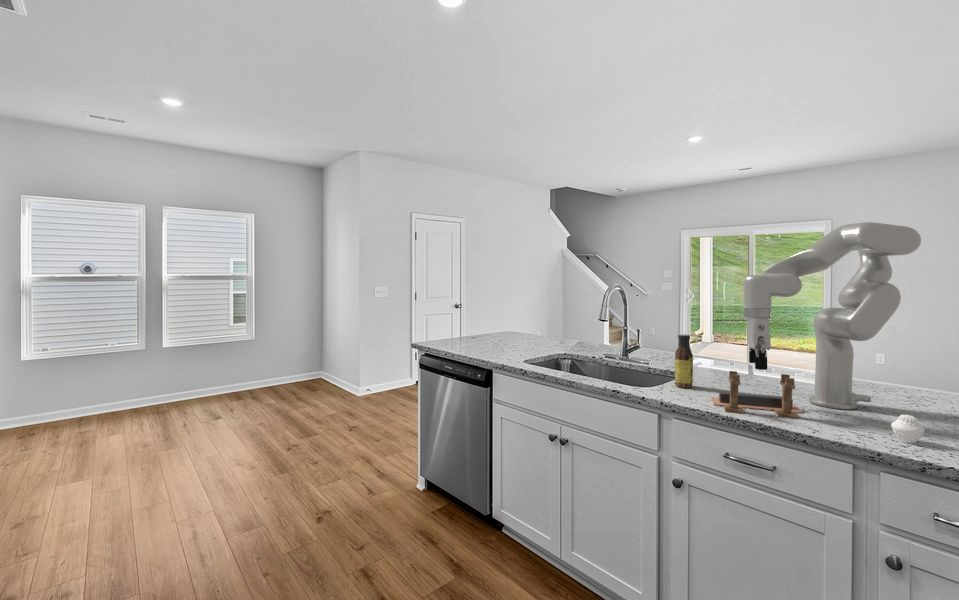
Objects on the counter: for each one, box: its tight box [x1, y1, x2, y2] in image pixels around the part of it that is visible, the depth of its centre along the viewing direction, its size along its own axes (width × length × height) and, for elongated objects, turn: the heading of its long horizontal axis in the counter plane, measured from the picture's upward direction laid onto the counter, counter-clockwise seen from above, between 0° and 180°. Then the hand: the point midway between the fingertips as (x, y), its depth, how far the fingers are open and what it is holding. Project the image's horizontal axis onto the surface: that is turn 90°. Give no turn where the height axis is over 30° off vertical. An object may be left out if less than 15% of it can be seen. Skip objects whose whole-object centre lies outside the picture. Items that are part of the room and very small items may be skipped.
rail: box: [718, 391, 794, 408], centre depth 143 cm, size 20×3×3 cm, turn 68°
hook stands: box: [723, 370, 799, 419], centre depth 136 cm, size 19×6×12 cm, turn 68°
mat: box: [711, 397, 803, 414], centre depth 144 cm, size 24×8×1 cm, turn 68°
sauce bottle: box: [674, 333, 694, 389], centre depth 168 cm, size 6×6×20 cm
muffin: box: [890, 414, 925, 445], centre depth 113 cm, size 6×6×7 cm
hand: (757, 366), depth 143 cm, fingers open, 9 cm apart
